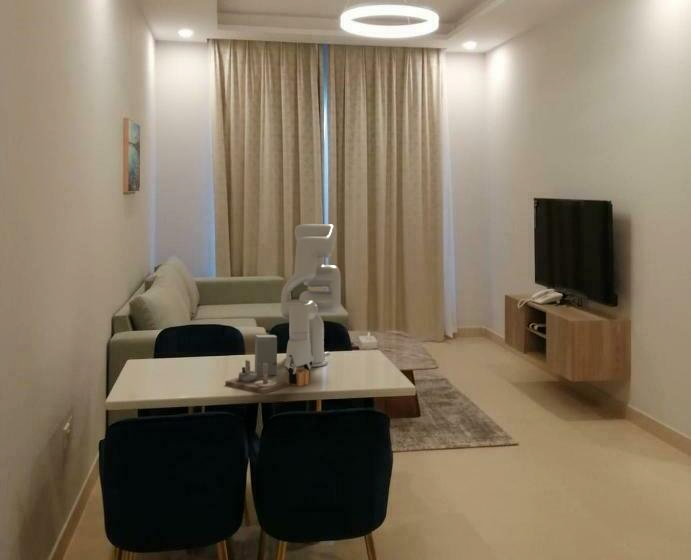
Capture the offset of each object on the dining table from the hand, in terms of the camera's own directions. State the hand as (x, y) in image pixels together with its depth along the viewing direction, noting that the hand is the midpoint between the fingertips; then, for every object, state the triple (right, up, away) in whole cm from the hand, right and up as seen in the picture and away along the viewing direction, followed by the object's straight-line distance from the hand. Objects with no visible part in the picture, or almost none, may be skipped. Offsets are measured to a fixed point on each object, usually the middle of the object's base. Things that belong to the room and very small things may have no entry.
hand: (299, 381), depth 263 cm
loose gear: (0, -1, 0) cm, 1 cm away
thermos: (-3, +4, +45) cm, 45 cm away
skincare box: (-14, 0, +14) cm, 20 cm away
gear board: (-16, -1, -3) cm, 16 cm away
